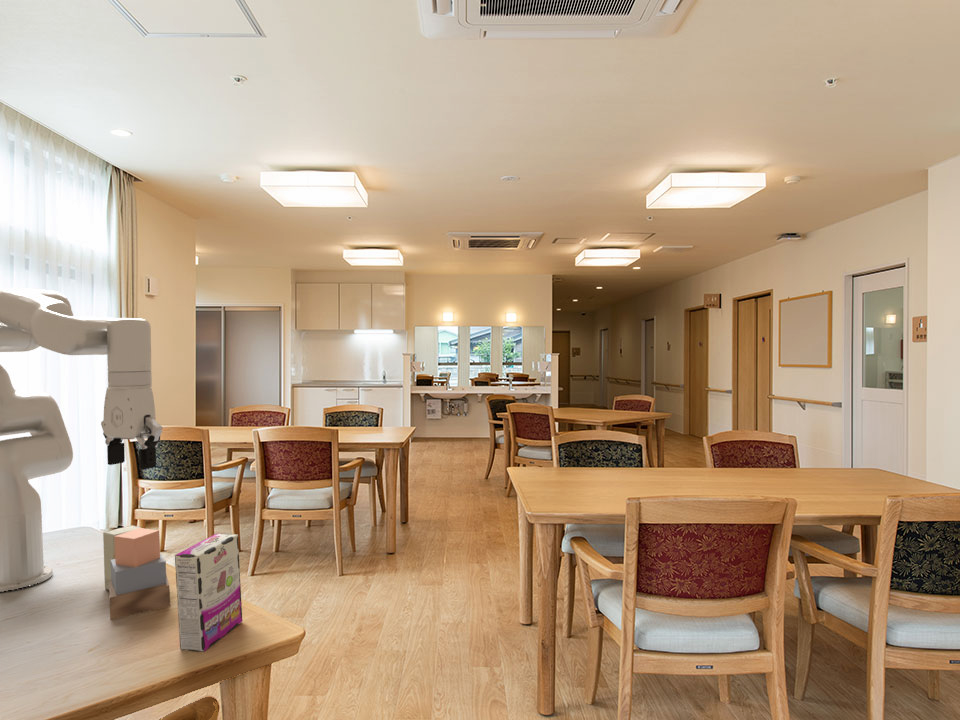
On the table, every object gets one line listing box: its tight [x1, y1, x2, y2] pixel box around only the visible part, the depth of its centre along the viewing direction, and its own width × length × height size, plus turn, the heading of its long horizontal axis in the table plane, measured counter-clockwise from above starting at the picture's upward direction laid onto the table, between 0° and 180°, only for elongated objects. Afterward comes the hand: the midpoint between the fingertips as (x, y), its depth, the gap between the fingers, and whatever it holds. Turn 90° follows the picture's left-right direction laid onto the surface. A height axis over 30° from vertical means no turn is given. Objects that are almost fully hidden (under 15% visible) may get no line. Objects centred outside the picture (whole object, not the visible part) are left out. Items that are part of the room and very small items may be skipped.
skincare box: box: [102, 524, 142, 591], centre depth 128 cm, size 6×4×12 cm
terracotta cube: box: [114, 527, 161, 567], centre depth 118 cm, size 6×6×6 cm
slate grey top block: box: [110, 553, 167, 596], centre depth 119 cm, size 8×8×4 cm
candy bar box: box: [174, 533, 243, 653], centre depth 104 cm, size 11×5×16 cm, turn 168°
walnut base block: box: [108, 574, 171, 621], centre depth 119 cm, size 10×10×4 cm
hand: (131, 465), depth 119 cm, fingers open, 9 cm apart
